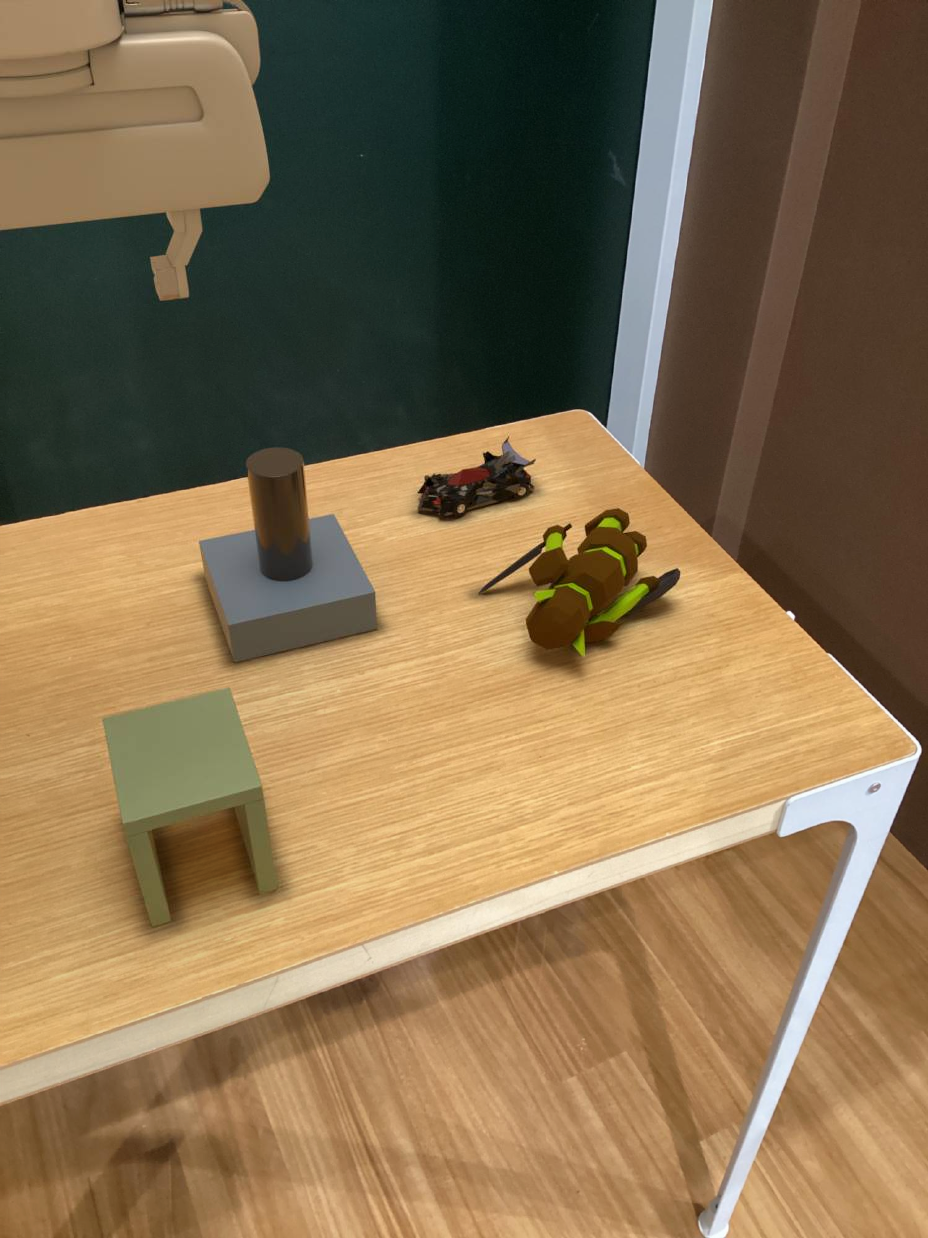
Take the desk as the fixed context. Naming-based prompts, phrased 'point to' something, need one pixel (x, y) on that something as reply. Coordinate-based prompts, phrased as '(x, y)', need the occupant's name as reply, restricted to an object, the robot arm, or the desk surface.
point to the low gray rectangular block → (288, 593)
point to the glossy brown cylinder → (280, 513)
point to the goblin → (587, 582)
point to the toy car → (477, 484)
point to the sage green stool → (185, 782)
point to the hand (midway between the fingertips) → (77, 307)
